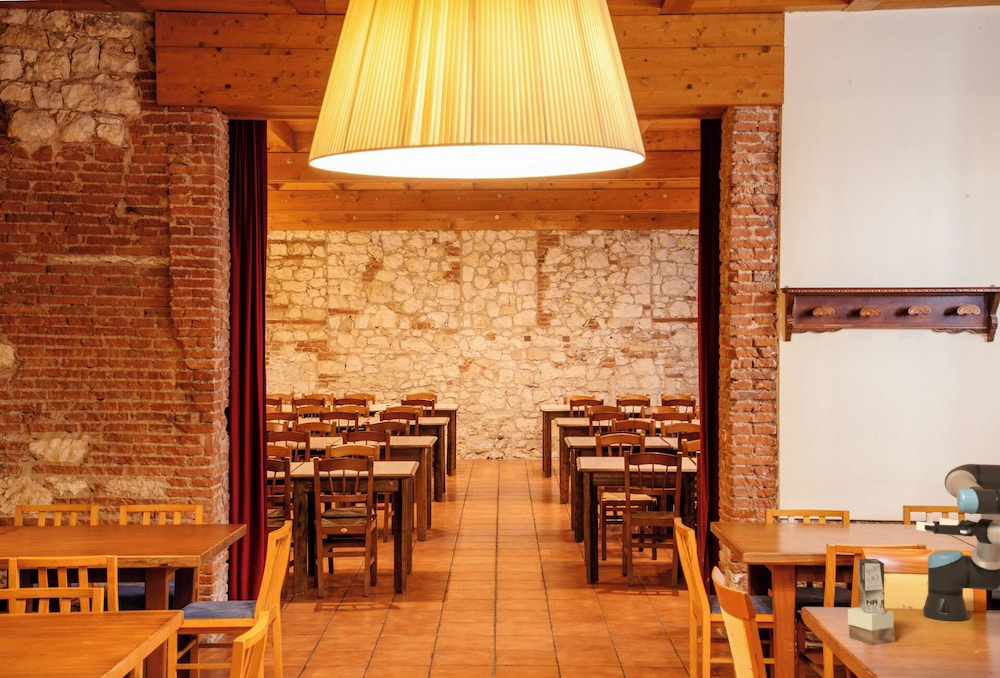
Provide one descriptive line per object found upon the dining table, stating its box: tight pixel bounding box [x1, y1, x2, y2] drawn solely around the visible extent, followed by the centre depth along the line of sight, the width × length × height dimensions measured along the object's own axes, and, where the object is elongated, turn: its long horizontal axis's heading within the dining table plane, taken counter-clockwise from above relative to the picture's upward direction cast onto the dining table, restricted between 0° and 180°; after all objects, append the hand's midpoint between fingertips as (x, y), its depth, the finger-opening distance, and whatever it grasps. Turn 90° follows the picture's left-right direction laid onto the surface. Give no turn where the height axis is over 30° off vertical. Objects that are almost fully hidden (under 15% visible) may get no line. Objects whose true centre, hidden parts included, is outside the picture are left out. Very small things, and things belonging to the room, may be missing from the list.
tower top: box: [847, 606, 895, 631], centre depth 341 cm, size 10×10×5 cm
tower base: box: [848, 624, 896, 646], centre depth 341 cm, size 10×10×5 cm
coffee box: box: [857, 558, 886, 613], centre depth 342 cm, size 9×6×16 cm
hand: (928, 523), depth 337 cm, fingers open, 13 cm apart
